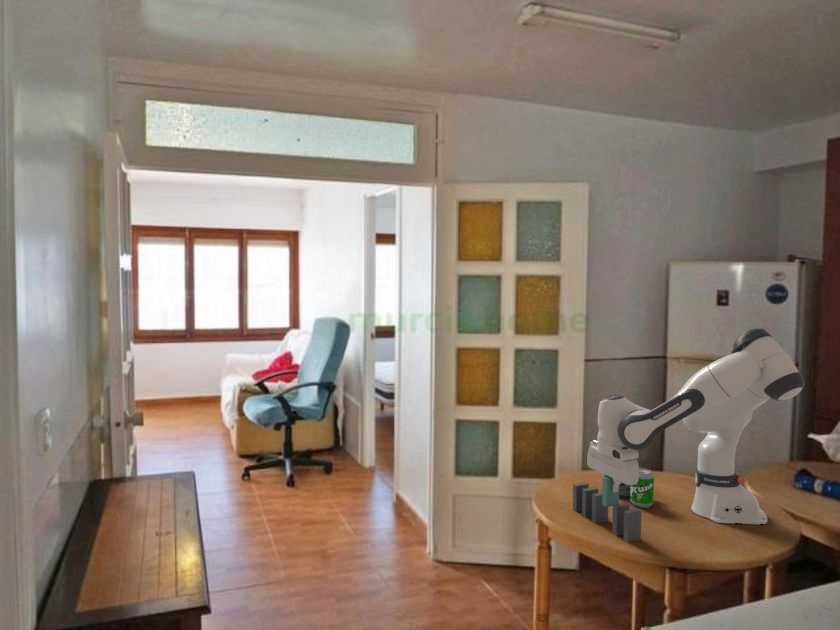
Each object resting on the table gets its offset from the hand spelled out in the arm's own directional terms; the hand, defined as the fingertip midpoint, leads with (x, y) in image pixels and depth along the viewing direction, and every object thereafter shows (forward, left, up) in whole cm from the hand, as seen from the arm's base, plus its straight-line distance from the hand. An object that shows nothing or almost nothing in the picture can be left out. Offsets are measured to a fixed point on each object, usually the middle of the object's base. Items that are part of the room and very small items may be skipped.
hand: (611, 489), depth 190 cm
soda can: (-10, -23, -12) cm, 28 cm away
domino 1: (+10, -12, -12) cm, 20 cm away
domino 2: (+7, -8, -12) cm, 16 cm away
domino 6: (-6, +7, -12) cm, 16 cm away
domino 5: (-3, +4, -12) cm, 13 cm away
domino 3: (+3, -4, -12) cm, 13 cm away
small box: (-5, -31, -12) cm, 34 cm away
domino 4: (0, 0, -5) cm, 5 cm away
